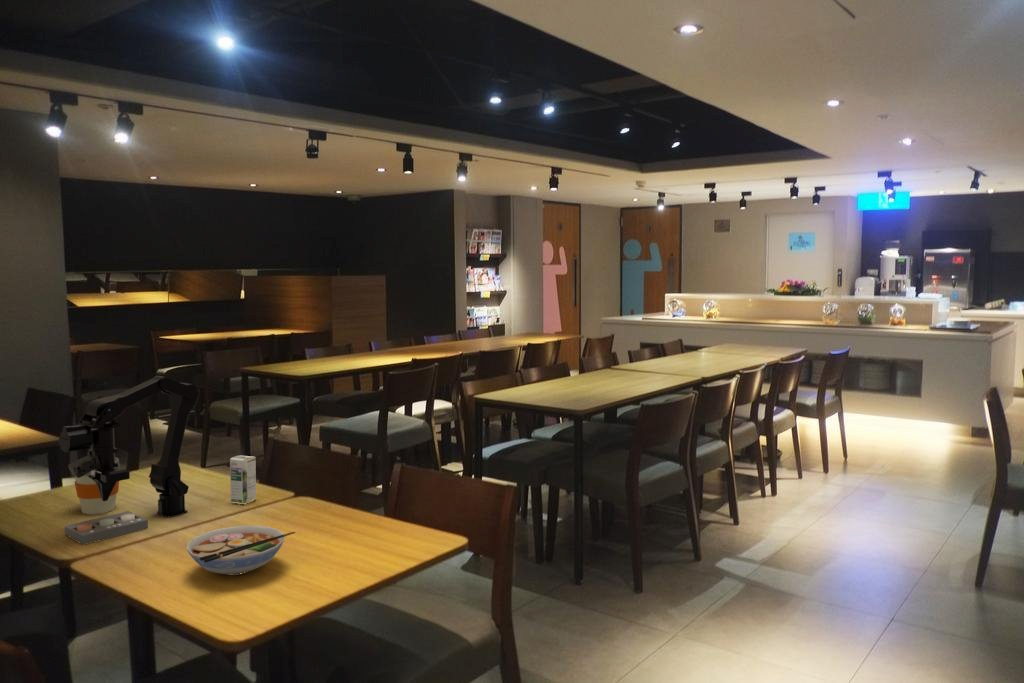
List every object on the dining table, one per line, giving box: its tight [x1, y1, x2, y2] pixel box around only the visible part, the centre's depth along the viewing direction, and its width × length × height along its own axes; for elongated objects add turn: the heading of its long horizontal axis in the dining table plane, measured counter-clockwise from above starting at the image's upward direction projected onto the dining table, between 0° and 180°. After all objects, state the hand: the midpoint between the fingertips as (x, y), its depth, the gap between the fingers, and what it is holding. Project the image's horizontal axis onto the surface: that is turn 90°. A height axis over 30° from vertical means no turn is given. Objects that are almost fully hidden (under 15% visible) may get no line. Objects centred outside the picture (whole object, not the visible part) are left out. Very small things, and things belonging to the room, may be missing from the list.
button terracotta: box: [77, 524, 92, 532], centre depth 211 cm, size 4×4×3 cm
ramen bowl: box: [185, 524, 296, 575], centre depth 189 cm, size 25×23×8 cm
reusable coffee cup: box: [74, 456, 121, 515], centre depth 234 cm, size 13×13×15 cm
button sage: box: [99, 519, 114, 527], centre depth 215 cm, size 4×4×3 cm
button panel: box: [64, 510, 149, 545], centre depth 215 cm, size 17×12×3 cm
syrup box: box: [229, 454, 257, 503], centre depth 243 cm, size 6×6×14 cm
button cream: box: [121, 513, 136, 521], centre depth 220 cm, size 4×4×3 cm
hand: (104, 500), depth 215 cm, fingers closed
